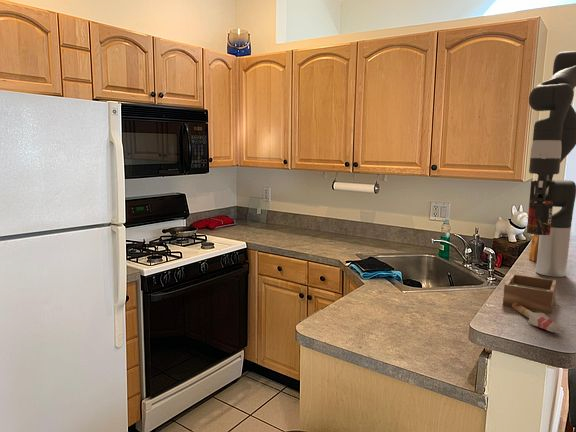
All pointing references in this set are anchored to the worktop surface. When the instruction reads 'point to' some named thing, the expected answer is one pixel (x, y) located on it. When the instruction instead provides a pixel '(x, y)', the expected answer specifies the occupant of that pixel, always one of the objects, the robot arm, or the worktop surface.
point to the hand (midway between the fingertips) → (539, 215)
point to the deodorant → (544, 223)
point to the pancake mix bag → (534, 248)
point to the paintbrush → (537, 319)
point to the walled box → (530, 293)
